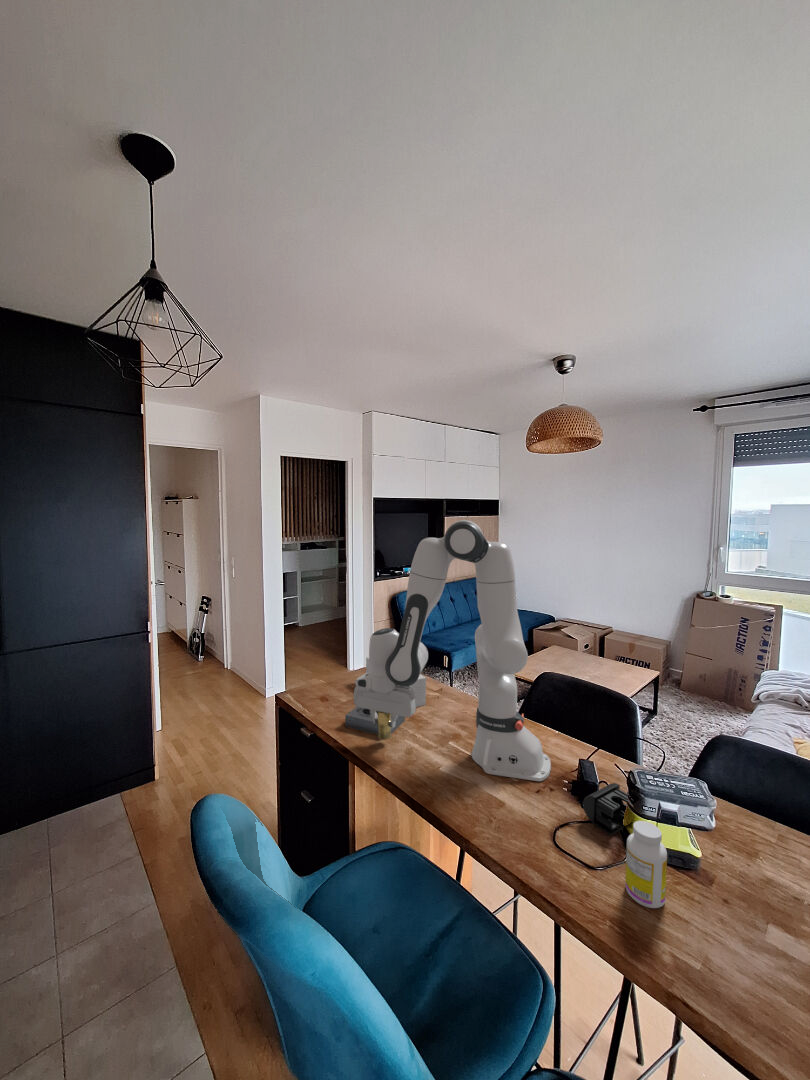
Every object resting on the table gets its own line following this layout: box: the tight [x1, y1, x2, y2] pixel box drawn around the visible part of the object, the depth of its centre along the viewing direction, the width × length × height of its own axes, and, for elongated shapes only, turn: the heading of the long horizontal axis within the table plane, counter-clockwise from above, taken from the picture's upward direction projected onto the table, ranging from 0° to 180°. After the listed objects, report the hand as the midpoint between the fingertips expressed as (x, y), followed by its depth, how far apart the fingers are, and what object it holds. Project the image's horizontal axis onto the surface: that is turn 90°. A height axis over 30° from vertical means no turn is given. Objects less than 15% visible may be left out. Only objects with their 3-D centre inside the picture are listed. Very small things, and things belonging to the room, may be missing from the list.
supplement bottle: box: [625, 820, 668, 909], centre depth 82 cm, size 7×7×13 cm
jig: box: [344, 706, 406, 736], centre depth 149 cm, size 16×13×4 cm
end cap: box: [582, 782, 629, 836], centre depth 103 cm, size 10×7×7 cm
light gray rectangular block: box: [365, 656, 427, 708], centre depth 176 cm, size 32×11×11 cm, turn 29°
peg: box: [377, 711, 392, 741], centre depth 136 cm, size 4×4×8 cm
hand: (384, 724), depth 136 cm, fingers closed on peg, 4 cm apart
